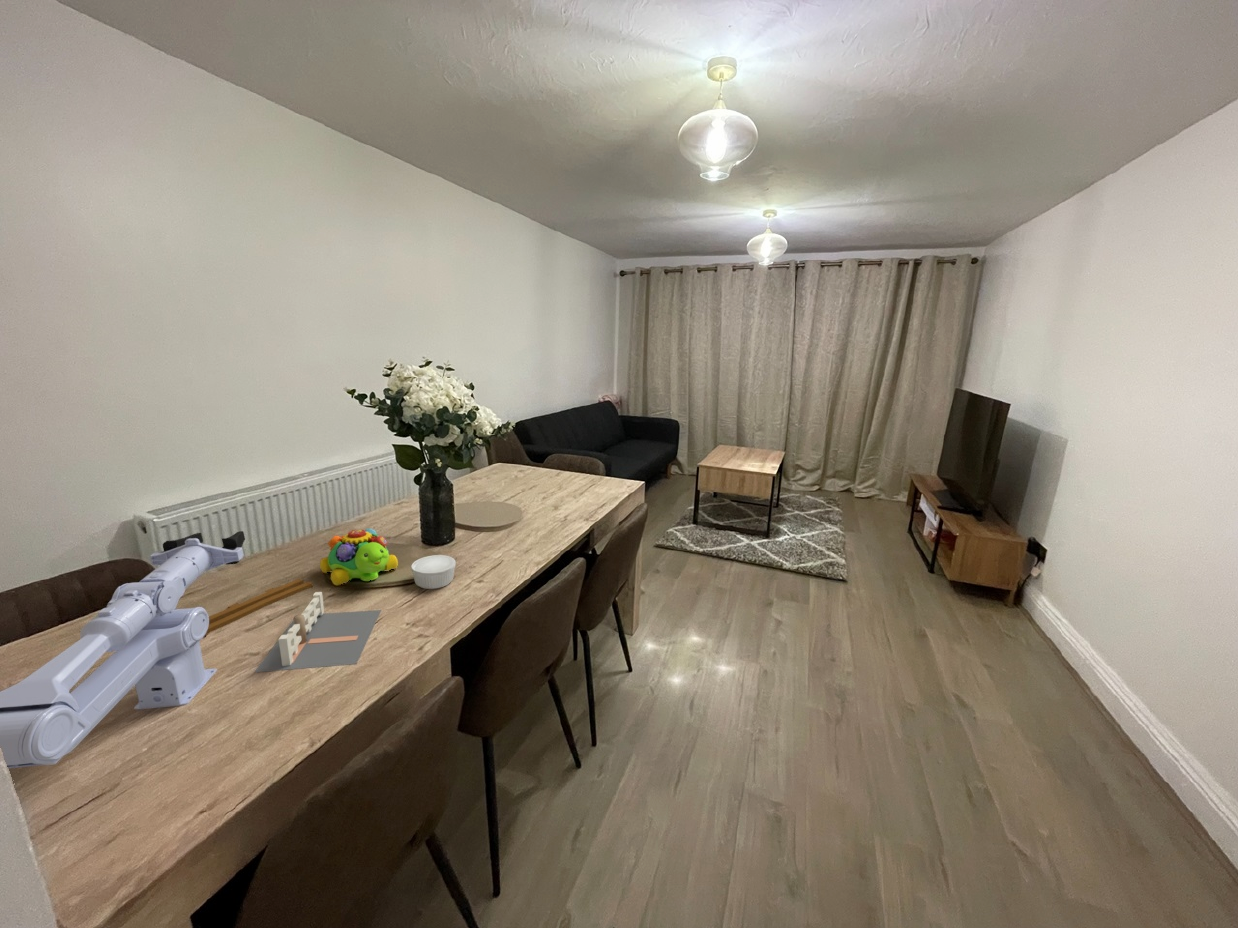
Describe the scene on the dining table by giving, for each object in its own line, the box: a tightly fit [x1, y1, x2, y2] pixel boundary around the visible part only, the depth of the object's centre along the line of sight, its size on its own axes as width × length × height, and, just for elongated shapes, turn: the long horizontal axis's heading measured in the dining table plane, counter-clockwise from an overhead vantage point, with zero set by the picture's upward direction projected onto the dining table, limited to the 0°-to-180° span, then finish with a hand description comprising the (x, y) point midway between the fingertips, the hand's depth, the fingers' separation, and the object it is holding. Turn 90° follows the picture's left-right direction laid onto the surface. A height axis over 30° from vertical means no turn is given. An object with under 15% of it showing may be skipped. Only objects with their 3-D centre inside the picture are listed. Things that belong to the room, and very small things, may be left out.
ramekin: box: [410, 554, 457, 590], centre depth 132 cm, size 11×11×5 cm
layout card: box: [253, 609, 382, 674], centre depth 106 cm, size 20×18×1 cm
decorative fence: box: [204, 578, 313, 637], centre depth 115 cm, size 25×2×10 cm
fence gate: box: [300, 591, 325, 633], centre depth 109 cm, size 10×1×5 cm, turn 12°
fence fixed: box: [278, 614, 307, 666], centre depth 100 cm, size 9×2×6 cm, turn 12°
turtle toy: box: [319, 528, 399, 586], centre depth 133 cm, size 17×23×12 cm
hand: (221, 536), depth 103 cm, fingers open, 7 cm apart
